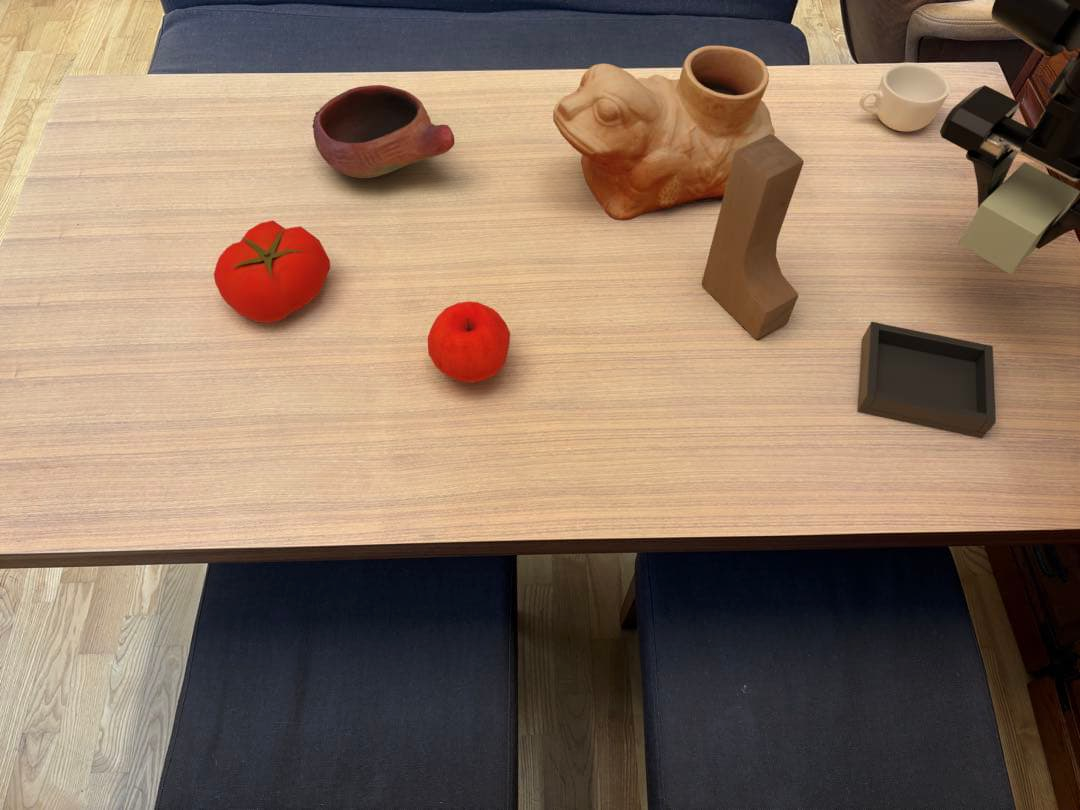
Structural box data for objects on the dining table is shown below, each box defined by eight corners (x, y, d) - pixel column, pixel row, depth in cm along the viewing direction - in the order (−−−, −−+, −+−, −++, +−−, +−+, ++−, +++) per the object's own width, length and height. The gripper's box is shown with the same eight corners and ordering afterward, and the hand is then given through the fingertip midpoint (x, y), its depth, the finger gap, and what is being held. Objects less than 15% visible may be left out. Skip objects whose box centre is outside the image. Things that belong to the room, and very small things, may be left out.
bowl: (316, 201, 96) (300, 144, 89) (325, 126, 103) (311, 68, 96) (458, 197, 97) (453, 140, 90) (458, 122, 104) (453, 65, 97)
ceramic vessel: (533, 158, 100) (534, 44, 88) (735, 115, 105) (763, 0, 92) (572, 240, 93) (579, 128, 80) (787, 190, 98) (825, 77, 85)
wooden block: (789, 322, 87) (843, 190, 72) (756, 341, 86) (804, 210, 71) (731, 267, 91) (771, 131, 76) (699, 285, 90) (733, 149, 75)
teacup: (919, 97, 107) (936, 60, 102) (941, 138, 103) (960, 100, 98) (842, 103, 106) (856, 65, 102) (862, 143, 102) (877, 106, 98)
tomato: (209, 304, 88) (188, 261, 82) (283, 240, 93) (268, 195, 87) (279, 348, 85) (261, 306, 79) (351, 279, 90) (340, 235, 84)
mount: (980, 362, 85) (993, 345, 82) (982, 438, 80) (996, 422, 77) (861, 338, 86) (871, 321, 84) (857, 411, 81) (866, 395, 79)
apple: (519, 392, 82) (518, 346, 76) (437, 406, 81) (430, 361, 75) (503, 328, 86) (501, 280, 80) (426, 341, 85) (418, 293, 79)
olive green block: (1000, 202, 83) (1024, 161, 79) (1052, 231, 81) (1080, 191, 77) (957, 243, 80) (980, 204, 76) (1011, 274, 78) (1038, 235, 74)
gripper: (1264, 94, 66) (1145, 237, 79) (1041, -3, 74) (965, 143, 87) (1207, 161, 62) (1090, 301, 75) (976, 51, 69) (906, 196, 82)
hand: (1010, 229), depth 80 cm, fingers closed on olive green block, 5 cm apart
